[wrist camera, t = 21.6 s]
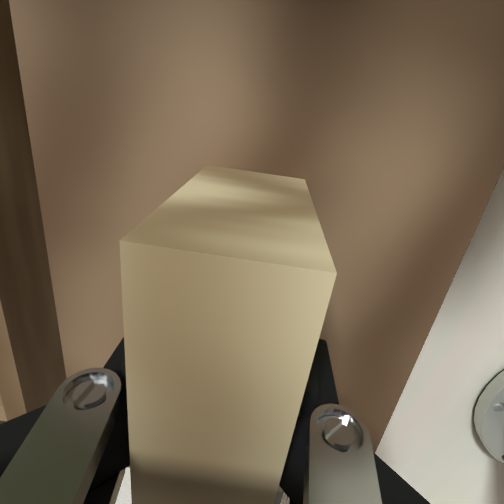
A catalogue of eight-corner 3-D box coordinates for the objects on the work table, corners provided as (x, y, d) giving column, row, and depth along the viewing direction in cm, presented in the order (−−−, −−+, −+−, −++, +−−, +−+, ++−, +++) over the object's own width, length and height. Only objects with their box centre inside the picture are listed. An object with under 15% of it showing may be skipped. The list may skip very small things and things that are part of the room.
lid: (525, -2, 9) (1458, -396, 2) (321, 517, 21) (345, 747, 13) (51, -67, 10) (-727, -648, 2) (106, 482, 21) (12, 690, 14)
